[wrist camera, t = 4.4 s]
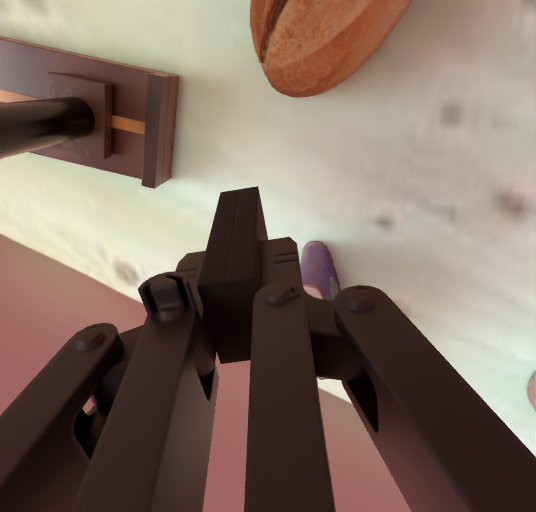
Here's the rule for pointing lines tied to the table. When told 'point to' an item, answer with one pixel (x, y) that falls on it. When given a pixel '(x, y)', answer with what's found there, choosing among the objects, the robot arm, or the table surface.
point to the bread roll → (318, 39)
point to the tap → (60, 119)
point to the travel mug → (532, 391)
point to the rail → (123, 106)
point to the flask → (319, 273)
